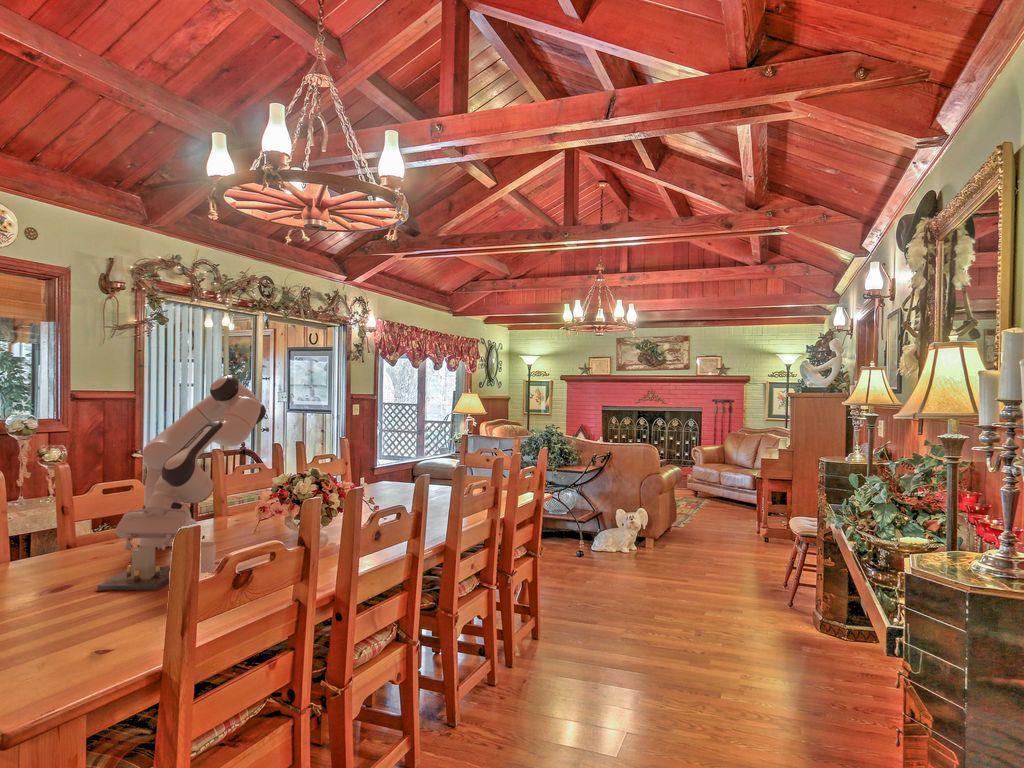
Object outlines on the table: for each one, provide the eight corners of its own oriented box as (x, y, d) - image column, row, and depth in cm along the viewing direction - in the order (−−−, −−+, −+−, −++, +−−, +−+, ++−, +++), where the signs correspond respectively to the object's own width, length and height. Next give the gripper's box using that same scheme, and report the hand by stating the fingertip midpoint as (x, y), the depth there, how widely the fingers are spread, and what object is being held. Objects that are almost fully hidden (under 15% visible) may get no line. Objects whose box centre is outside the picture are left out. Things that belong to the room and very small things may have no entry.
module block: (139, 572, 189) (139, 546, 189) (154, 572, 189) (155, 546, 189) (131, 577, 184) (132, 550, 184) (147, 577, 185) (148, 550, 185)
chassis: (130, 571, 195) (131, 557, 195) (184, 571, 197) (184, 557, 197) (97, 590, 177) (98, 574, 177) (156, 590, 179) (157, 574, 179)
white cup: (220, 574, 195) (221, 542, 195) (205, 582, 187) (206, 548, 187) (196, 573, 196) (197, 541, 196) (180, 580, 188) (181, 547, 188)
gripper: (122, 504, 195) (103, 543, 185) (191, 505, 197) (175, 544, 187) (129, 515, 199) (111, 554, 190) (196, 516, 201) (181, 555, 191)
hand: (144, 549), depth 188 cm, fingers open, 8 cm apart
